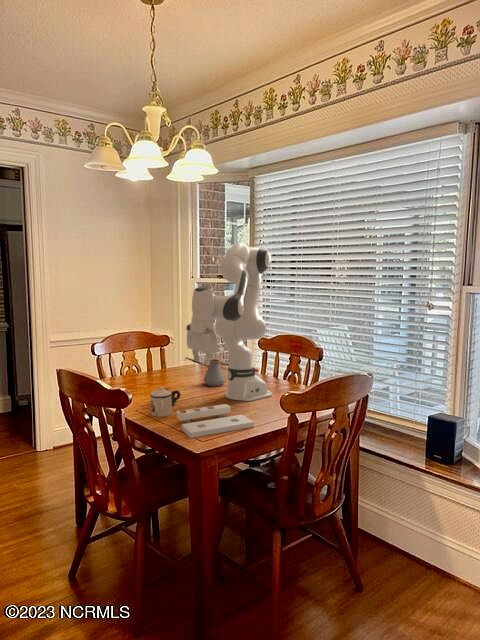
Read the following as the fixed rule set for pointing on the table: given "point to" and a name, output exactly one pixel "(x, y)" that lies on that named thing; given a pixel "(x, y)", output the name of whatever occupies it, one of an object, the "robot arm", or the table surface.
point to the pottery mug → (174, 397)
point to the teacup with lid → (161, 402)
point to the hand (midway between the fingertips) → (201, 362)
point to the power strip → (203, 412)
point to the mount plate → (217, 425)
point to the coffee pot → (212, 373)
